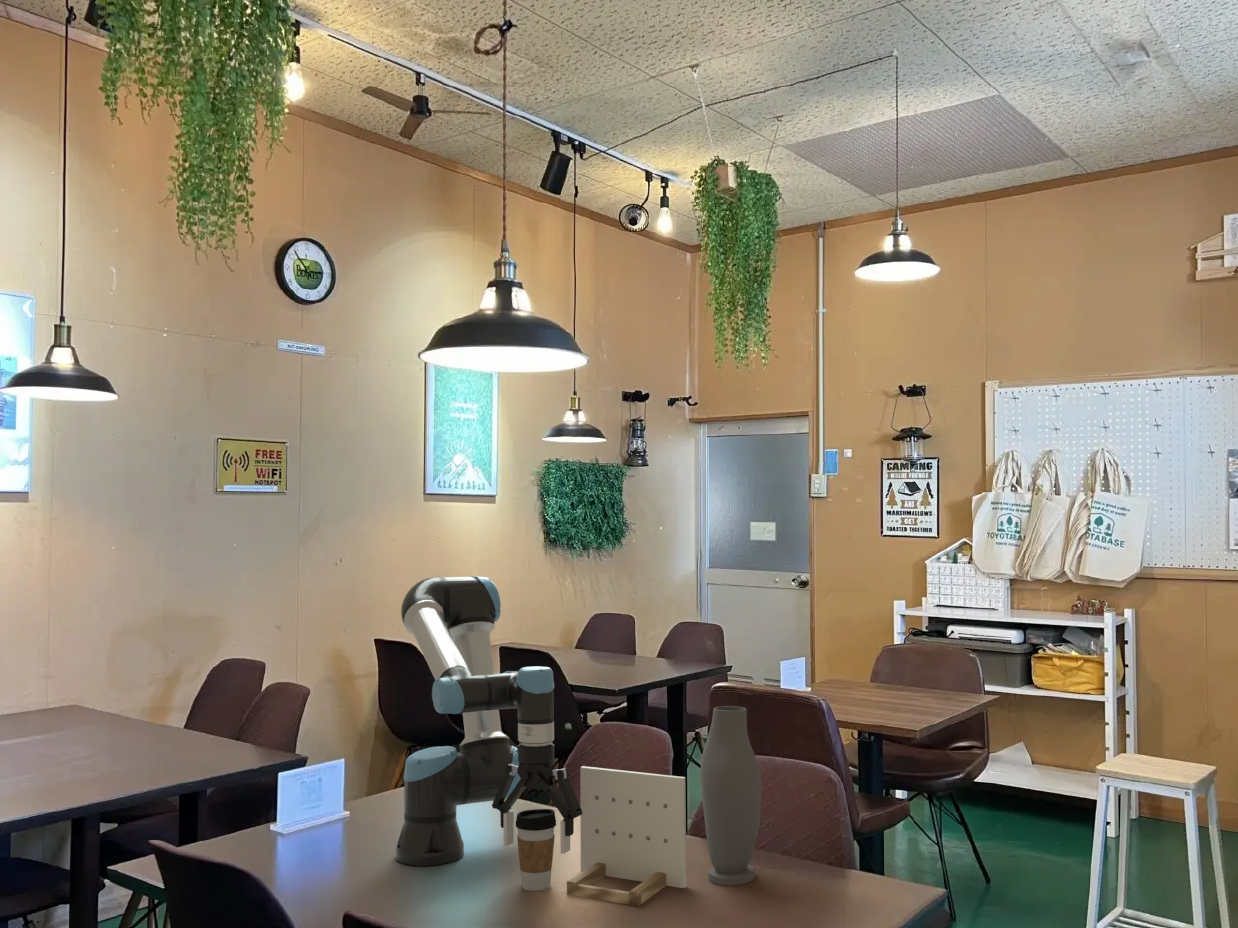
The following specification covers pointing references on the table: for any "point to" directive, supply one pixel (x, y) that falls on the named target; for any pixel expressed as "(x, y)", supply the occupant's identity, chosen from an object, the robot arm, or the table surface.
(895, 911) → the table surface
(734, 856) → the vase
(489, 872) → the table surface
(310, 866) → the table surface
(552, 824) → the coffee cup
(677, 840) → the wall board
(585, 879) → the wooden tray
